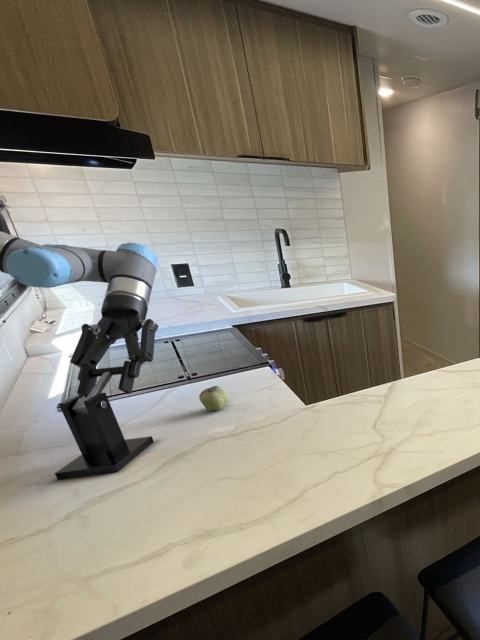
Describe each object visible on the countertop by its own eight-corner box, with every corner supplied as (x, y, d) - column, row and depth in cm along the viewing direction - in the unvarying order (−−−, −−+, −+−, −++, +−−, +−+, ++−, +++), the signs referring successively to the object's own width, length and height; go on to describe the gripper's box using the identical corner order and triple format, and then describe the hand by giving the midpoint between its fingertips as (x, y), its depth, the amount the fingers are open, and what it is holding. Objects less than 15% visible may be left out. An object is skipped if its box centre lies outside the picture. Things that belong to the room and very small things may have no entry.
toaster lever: (97, 374, 86) (90, 366, 84) (132, 371, 87) (125, 363, 86) (67, 418, 78) (58, 410, 76) (106, 413, 79) (98, 405, 77)
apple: (230, 400, 110) (224, 380, 108) (231, 409, 104) (224, 388, 102) (204, 406, 107) (197, 385, 105) (203, 416, 101) (196, 394, 99)
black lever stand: (102, 448, 87) (76, 390, 82) (154, 442, 89) (131, 384, 84) (57, 480, 76) (24, 414, 71) (118, 471, 78) (90, 406, 73)
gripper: (183, 308, 98) (169, 394, 88) (90, 315, 94) (65, 406, 85) (164, 289, 91) (146, 380, 82) (63, 295, 87) (32, 391, 78)
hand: (104, 393), depth 83 cm, fingers closed on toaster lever, 6 cm apart
